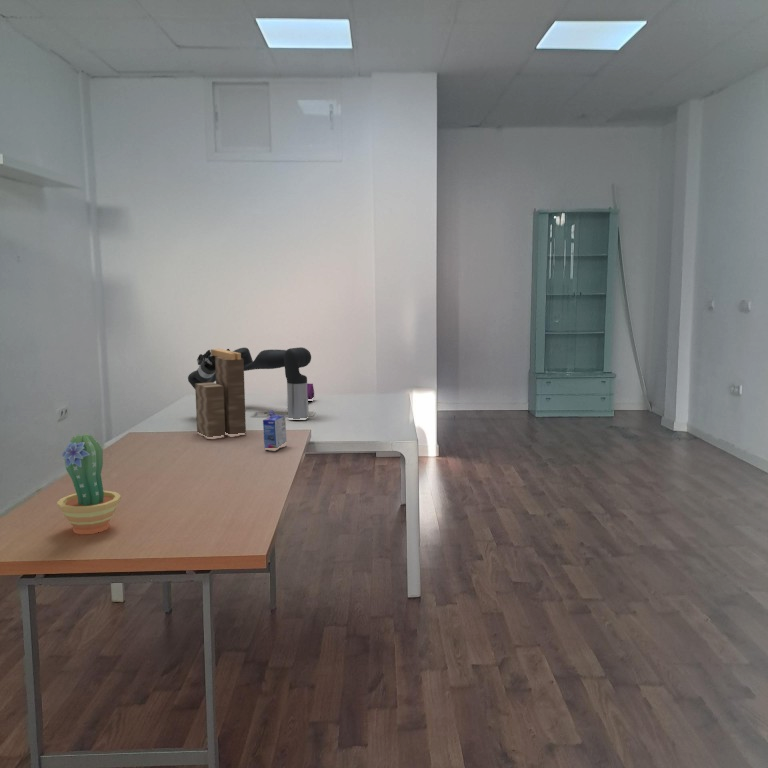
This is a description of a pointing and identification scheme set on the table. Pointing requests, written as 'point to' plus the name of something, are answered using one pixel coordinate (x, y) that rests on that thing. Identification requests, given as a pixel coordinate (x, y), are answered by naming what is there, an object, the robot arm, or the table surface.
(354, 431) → the table surface
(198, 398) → the step stand
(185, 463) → the table surface
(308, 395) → the mounting bracket
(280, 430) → the ink cartridge box
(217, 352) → the slotted slat
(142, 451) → the table surface
